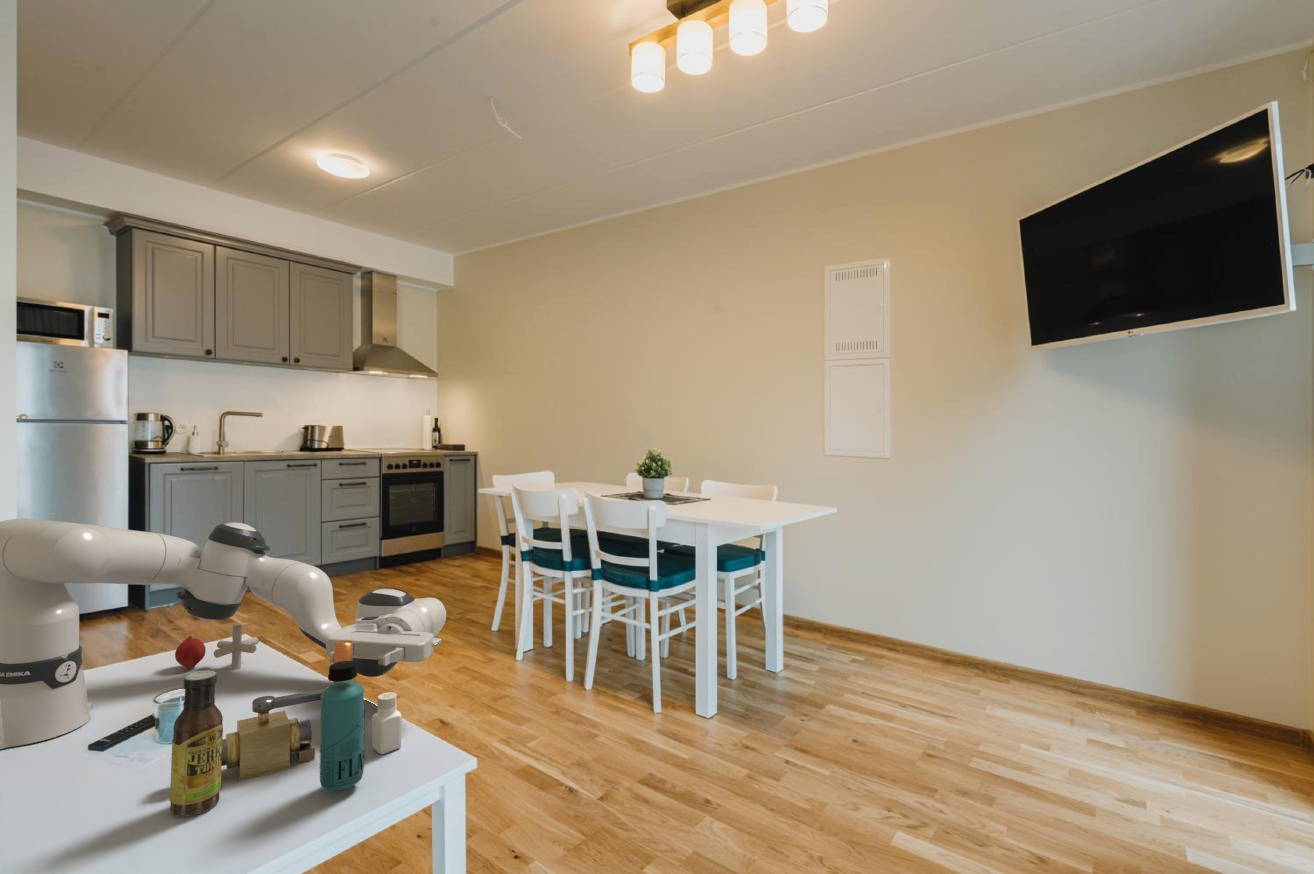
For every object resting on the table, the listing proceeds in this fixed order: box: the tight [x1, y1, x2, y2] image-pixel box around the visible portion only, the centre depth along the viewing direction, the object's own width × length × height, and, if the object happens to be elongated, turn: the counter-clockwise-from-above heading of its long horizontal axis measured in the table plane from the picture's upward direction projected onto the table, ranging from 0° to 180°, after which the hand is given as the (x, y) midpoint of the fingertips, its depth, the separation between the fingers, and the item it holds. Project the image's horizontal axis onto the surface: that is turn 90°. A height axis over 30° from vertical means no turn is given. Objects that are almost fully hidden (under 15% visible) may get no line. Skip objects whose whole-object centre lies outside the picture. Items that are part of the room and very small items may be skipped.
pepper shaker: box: [371, 691, 403, 755], centre depth 114 cm, size 4×4×10 cm
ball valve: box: [222, 710, 316, 782], centre depth 106 cm, size 18×6×10 cm, turn 128°
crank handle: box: [251, 640, 353, 714], centre depth 110 cm, size 15×3×9 cm, turn 122°
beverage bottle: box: [318, 661, 366, 791], centre depth 101 cm, size 6×7×20 cm
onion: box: [174, 634, 207, 670], centre depth 149 cm, size 6×6×8 cm
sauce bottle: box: [169, 670, 224, 817], centre depth 96 cm, size 6×6×20 cm
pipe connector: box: [213, 624, 259, 671], centre depth 150 cm, size 10×10×10 cm
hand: (357, 659), depth 117 cm, fingers open, 8 cm apart
